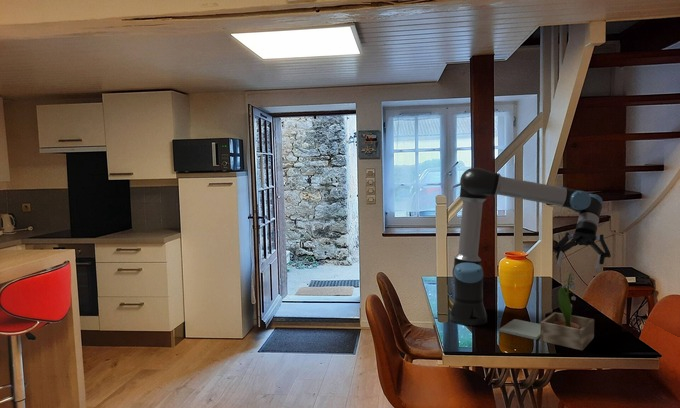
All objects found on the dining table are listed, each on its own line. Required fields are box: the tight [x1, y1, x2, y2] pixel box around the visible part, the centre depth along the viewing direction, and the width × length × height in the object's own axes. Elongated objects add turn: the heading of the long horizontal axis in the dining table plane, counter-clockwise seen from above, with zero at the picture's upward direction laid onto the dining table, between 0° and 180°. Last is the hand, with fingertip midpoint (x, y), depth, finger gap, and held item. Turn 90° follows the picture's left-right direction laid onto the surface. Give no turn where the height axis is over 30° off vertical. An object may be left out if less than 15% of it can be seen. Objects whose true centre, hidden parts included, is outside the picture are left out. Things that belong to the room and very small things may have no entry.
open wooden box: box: [539, 311, 595, 351], centre depth 162 cm, size 14×16×7 cm
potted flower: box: [554, 272, 580, 329], centre depth 162 cm, size 12×10×25 cm
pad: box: [498, 318, 541, 341], centre depth 173 cm, size 14×16×1 cm
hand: (577, 268), depth 171 cm, fingers open, 13 cm apart
